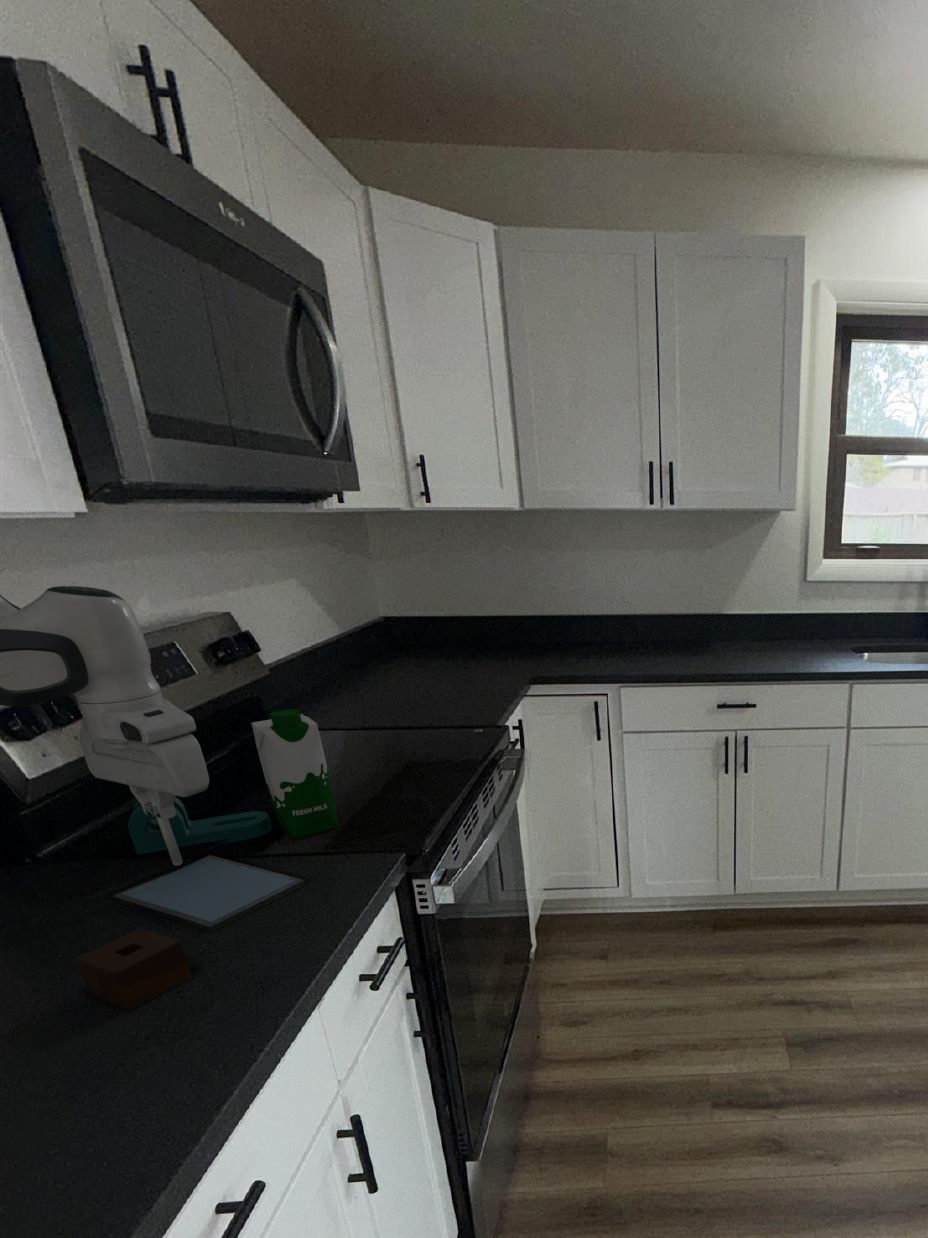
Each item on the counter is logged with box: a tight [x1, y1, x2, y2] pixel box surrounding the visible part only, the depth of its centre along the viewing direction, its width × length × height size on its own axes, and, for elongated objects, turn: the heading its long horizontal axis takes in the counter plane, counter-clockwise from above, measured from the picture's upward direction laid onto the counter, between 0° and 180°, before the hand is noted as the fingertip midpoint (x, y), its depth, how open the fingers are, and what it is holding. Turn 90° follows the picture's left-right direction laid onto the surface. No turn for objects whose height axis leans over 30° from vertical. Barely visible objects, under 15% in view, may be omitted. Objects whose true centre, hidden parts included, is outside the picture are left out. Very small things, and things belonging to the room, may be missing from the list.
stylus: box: [146, 789, 183, 867], centre depth 106 cm, size 1×1×12 cm
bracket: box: [127, 796, 273, 856], centre depth 123 cm, size 18×7×8 cm, turn 119°
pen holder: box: [75, 927, 193, 1012], centre depth 87 cm, size 7×7×5 cm
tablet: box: [112, 854, 306, 933], centre depth 108 cm, size 20×14×1 cm
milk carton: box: [251, 708, 340, 840], centre depth 125 cm, size 9×9×20 cm
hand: (161, 815), depth 106 cm, fingers closed on stylus, 1 cm apart
